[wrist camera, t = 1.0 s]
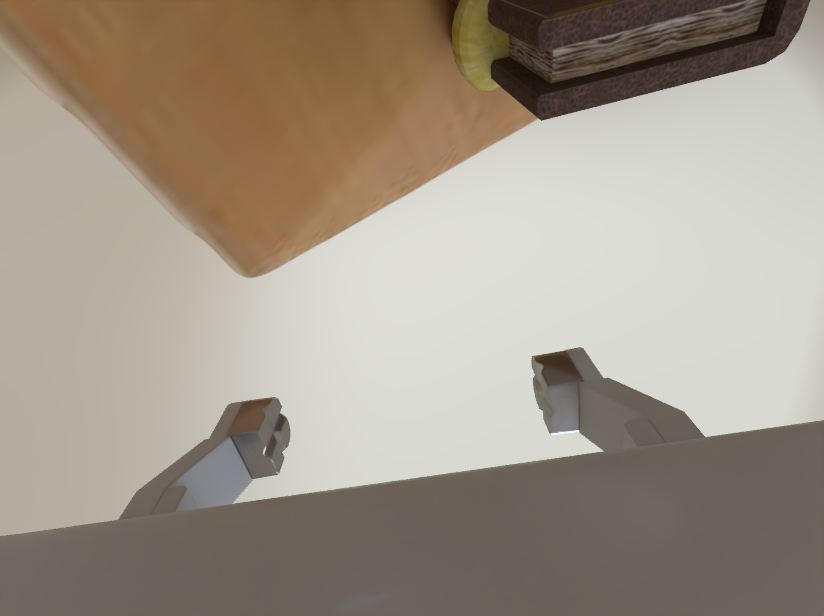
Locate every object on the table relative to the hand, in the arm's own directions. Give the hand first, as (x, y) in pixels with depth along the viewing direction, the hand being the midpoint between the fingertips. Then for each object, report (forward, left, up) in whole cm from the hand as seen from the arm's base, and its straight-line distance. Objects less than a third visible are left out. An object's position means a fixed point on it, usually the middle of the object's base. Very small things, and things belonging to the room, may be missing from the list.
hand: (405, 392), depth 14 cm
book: (+12, +18, -47) cm, 52 cm away
